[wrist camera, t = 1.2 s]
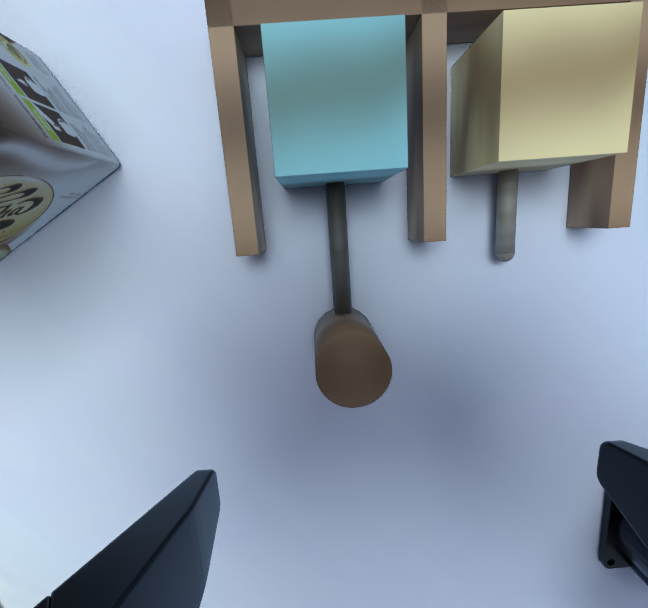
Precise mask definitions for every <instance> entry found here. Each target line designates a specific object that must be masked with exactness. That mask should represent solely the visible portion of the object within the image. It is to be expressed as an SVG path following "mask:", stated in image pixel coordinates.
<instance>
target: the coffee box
mask: <svg viewBox="0 0 648 608" xmlns="http://www.w3.org/2000/svg"><path fill="white" fill-rule="evenodd" d="M118 167H119V161H118V160H117V159H116V157H115V156H114V155H113V153H112V152H111V151H110V149H109V148H108V147H107V145H106V144H105V143H104V141H103V140H102V139H101V138H100V136H99V135H98V134H97V132H96V131H95V130H94V128H93V127H92V126H91V124H90V123H89V122H88V120H87V119H86V118H85V116H84V115H83V114H82V113H81V111H80V110H79V109H78V107H77V106H76V105H75V103H74V102H73V101H72V99H71V98H70V97H69V96H68V94H67V93H66V92H65V90H64V89H63V88H62V86H61V85H60V84H59V82H58V81H57V80H56V79H55V77H54V76H53V75H52V74H51V72H50V71H49V70H48V68H47V67H46V66H45V65H44V63H43V62H42V61H41V60H40V58H39V57H38V56H37V55H36V54H34V53H33V52H32V51H30V50H28V49H27V48H25V47H23V46H21V45H20V44H18V43H16V42H14V41H13V40H11V39H9V38H8V37H6V36H4V35H2V34H1V33H0V260H1V259H2V258H3V257H5V256H6V255H7V254H8V253H10V252H11V251H12V250H14V249H15V248H16V247H17V246H19V245H20V244H21V243H23V242H24V241H25V240H26V239H28V238H29V237H30V236H31V235H33V234H34V233H35V232H36V231H38V230H39V229H40V228H42V227H43V226H44V225H45V224H47V223H48V222H49V221H50V220H52V219H53V218H54V217H55V216H57V215H58V214H59V213H60V212H62V211H63V210H64V209H66V208H67V207H68V206H69V205H71V204H72V203H73V202H75V201H76V200H77V199H78V198H80V197H81V196H82V195H83V194H85V193H86V192H87V191H89V190H90V189H91V188H92V187H94V186H95V185H96V184H97V183H99V182H100V181H101V180H102V179H104V178H105V177H106V176H108V175H109V174H110V173H111V172H113V171H114V170H115V169H117V168H118Z"/></svg>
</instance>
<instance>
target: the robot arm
mask: <svg viewBox="0 0 648 608" xmlns="http://www.w3.org/2000/svg"><path fill="white" fill-rule="evenodd" d="M597 477H598V480H599V482H600V484H601V485H602V487H603V488H604V489H605V491H606V492H607V494H606V502H605V511H604V519H603V528H602V536H601V545H600V553H599V560H600V562H601V563H602V564H603V565H604V566H605V567H606V568H609V569H611V568H622V567H631V568H632V569H633V570H634V571H635V573H636V574H637V575H638V576H639V577H640V578H641V579H642V580H643V581H644V582H645V583H646V584H647V586H648V449H645V448H642V447H639V446H637V445H634V444H631V443H628V442H625V441H620V440H618V441H606V442H603V443H602V444H601V446H600V450H599V457H598V465H597ZM219 511H220V497H219V490H218V483H217V476H216V472H215V471H214V470H212V469H211V470H198V471H196V472H194V473H193V474H192V475H190V476H189V477H188V478H187V479H186V480H185V481H183V482H182V483H181V484H180V485H179V486H177V487H176V488H175V489H174V490H173V491H172V492H170V493H169V494H168V495H167V496H166V497H164V498H163V499H162V500H161V501H160V502H158V503H157V504H156V505H155V506H154V507H153V508H151V509H150V510H149V511H148V512H147V513H145V514H144V515H143V516H142V517H141V518H139V519H138V520H137V521H136V522H135V523H134V524H132V525H131V526H130V527H129V528H128V529H126V530H125V531H124V532H123V533H122V534H121V535H119V536H118V537H117V538H116V539H115V540H113V541H112V542H111V543H110V544H109V545H107V546H106V547H105V548H104V549H103V550H102V551H100V552H99V553H98V554H97V555H96V556H94V557H93V558H92V559H91V560H90V561H89V562H87V563H86V564H85V565H84V566H83V567H81V568H80V569H79V570H78V571H77V572H75V573H74V574H73V575H72V576H71V577H70V578H68V579H67V580H66V581H65V582H64V583H62V584H61V585H60V586H59V587H58V588H56V589H55V590H54V591H53V592H52V594H51V597H50V596H47V597H46V598H44V599H43V600H42V601H41V602H40V603H38V604H37V605H36V606H35V607H34V608H199V607H200V604H201V600H202V597H203V593H204V589H205V585H206V581H207V576H208V571H209V565H210V560H211V554H212V549H213V544H214V538H215V533H216V527H217V522H218V517H219Z"/></svg>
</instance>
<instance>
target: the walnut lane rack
mask: <svg viewBox="0 0 648 608" xmlns="http://www.w3.org/2000/svg"><path fill="white" fill-rule="evenodd" d="M204 1H205V9H206V17H207V25H208V33H209V41H210V49H211V57H212V65H213V73H214V81H215V89H216V97H217V105H218V112H219V120H220V128H221V136H222V144H223V152H224V160H225V168H226V176H227V184H228V192H229V200H230V208H231V216H232V224H233V232H234V240H235V248H236V256H250V255H259V254H261V253H262V252H264V251H265V250H266V244H265V234H264V225H263V215H262V206H261V197H260V187H259V178H258V169H257V159H256V150H255V141H254V131H253V122H252V112H251V103H250V94H249V84H248V75H247V66H246V57H256V56H264V55H263V45H262V35H261V24H265V23H281V22H297V21H313V20H328V19H344V18H360V17H376V16H392V15H405V41H406V91H407V141H408V167H407V208H408V239H409V240H415V241H420V242H435V241H446V102H447V44H456V43H471V42H475V41H476V40H477V39H478V38H479V37H480V35H481V34H482V33H483V32H484V31H485V30H486V29H487V28H488V27H489V26H490V25H491V23H492V22H493V21H494V20H495V19H496V18H497V17H498V16H499V15H500V14H501V13H502V12H503V10H516V9H532V8H548V7H564V6H580V5H595V4H611V3H627V2H643V10H642V19H641V29H640V38H639V47H638V56H637V66H636V75H635V84H634V94H633V103H632V112H631V122H630V131H629V140H628V150H627V152H626V153H622V154H617V155H613V156H608V157H603V158H599V159H594V160H589V161H585V162H580V163H576V164H571V173H570V187H569V200H568V213H567V226H566V227H572V228H620V227H630V219H631V210H632V202H633V193H634V184H635V175H636V166H637V158H638V149H639V140H640V131H641V122H642V113H643V105H644V96H645V87H646V78H647V69H648V0H204Z"/></svg>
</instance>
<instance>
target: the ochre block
mask: <svg viewBox="0 0 648 608" xmlns="http://www.w3.org/2000/svg"><path fill="white" fill-rule="evenodd" d="M642 10H643V2H627V3H611V4H595V5H580V6H564V7H548V8H532V9H516V10H503V12H502V13H501V14H500V15H499V16H498V17H497V18H496V19H495V20H494V21H493V22H492V23H491V25H490V26H489V27H488V28H487V29H486V30H485V31H484V32H483V33H482V34H481V35H480V37H479V38H478V39H477V40H476V41H475V42H474V43H473V44H472V45H471V46H470V47H469V49H468V50H467V51H466V52H465V53H464V54H463V55H462V56H461V57H460V58H459V59H458V61H457V62H456V63H455V64H454V65H453V66H452V67H451V131H450V177H454V176H467V175H481V174H495V173H498V178H497V209H496V239H495V256H496V258H497V259H498V260H499V261H502V262H506V261H509V260H511V259H512V258H513V256H514V253H515V232H516V209H517V187H518V172H523V171H537V170H548V169H552V168H557V167H562V166H566V165H571V164H576V163H580V162H585V161H589V160H594V159H599V158H603V157H608V156H613V155H617V154H622V153H626V152H627V150H628V140H629V131H630V122H631V112H632V103H633V94H634V84H635V75H636V66H637V56H638V47H639V38H640V29H641V19H642Z"/></svg>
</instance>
